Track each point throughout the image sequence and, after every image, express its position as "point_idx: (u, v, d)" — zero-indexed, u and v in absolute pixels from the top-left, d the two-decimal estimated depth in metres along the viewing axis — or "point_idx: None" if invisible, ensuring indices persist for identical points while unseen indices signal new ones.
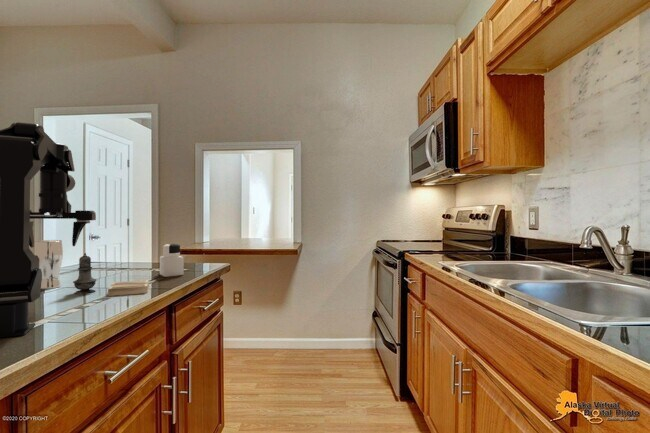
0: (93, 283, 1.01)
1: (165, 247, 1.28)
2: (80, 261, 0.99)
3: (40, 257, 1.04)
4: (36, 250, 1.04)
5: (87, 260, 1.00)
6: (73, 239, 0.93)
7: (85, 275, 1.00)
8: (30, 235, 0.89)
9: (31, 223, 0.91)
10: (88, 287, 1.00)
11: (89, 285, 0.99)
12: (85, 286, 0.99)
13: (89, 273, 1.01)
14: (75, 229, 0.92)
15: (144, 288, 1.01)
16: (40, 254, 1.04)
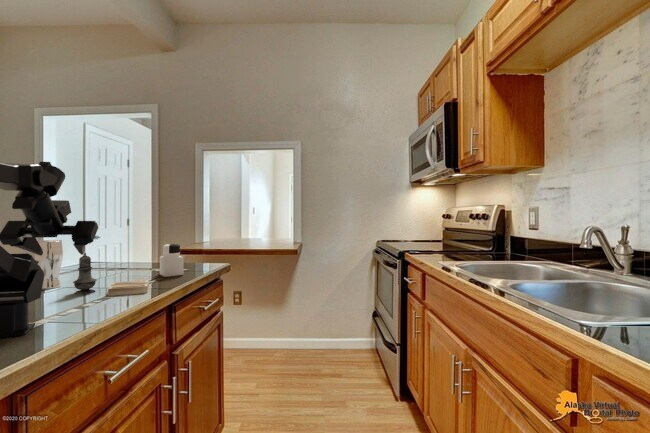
0: (93, 283, 1.01)
1: (165, 247, 1.28)
2: (80, 261, 0.99)
3: (40, 257, 1.04)
4: None
5: (87, 260, 1.00)
6: (79, 252, 0.87)
7: (86, 275, 1.00)
8: (34, 248, 0.83)
9: None
10: (88, 287, 1.00)
11: (89, 285, 0.99)
12: (85, 286, 0.99)
13: (89, 273, 1.01)
14: (77, 247, 0.84)
15: (144, 288, 1.01)
16: None
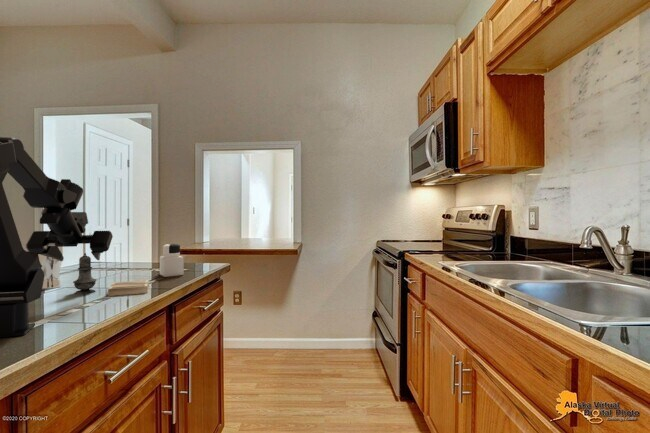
0: (93, 283, 1.01)
1: (165, 247, 1.28)
2: (80, 261, 0.99)
3: (40, 257, 1.04)
4: None
5: (87, 260, 1.00)
6: (96, 258, 0.97)
7: (85, 275, 1.00)
8: (56, 255, 0.94)
9: None
10: (88, 287, 1.00)
11: (89, 285, 0.99)
12: (85, 286, 0.99)
13: (89, 273, 1.01)
14: (94, 254, 0.94)
15: (144, 288, 1.01)
16: (40, 254, 1.04)
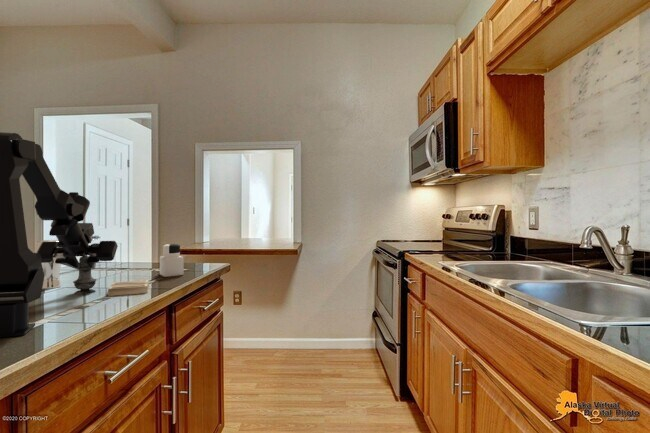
0: (93, 283, 1.01)
1: (165, 247, 1.28)
2: (80, 261, 0.99)
3: None
4: (36, 250, 1.04)
5: None
6: (92, 267, 1.00)
7: (86, 275, 1.00)
8: (74, 264, 0.99)
9: None
10: (88, 287, 1.00)
11: (89, 284, 0.99)
12: (85, 286, 0.99)
13: (89, 273, 1.01)
14: (90, 264, 0.98)
15: (144, 288, 1.01)
16: None
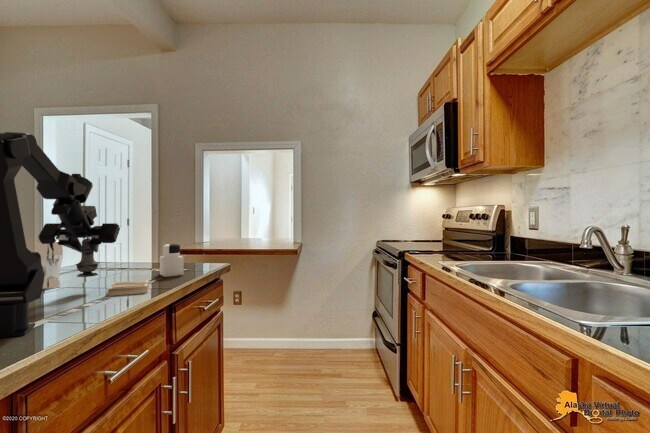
0: (95, 266, 1.01)
1: (165, 247, 1.28)
2: (83, 244, 1.00)
3: None
4: (36, 250, 1.04)
5: None
6: (94, 250, 1.00)
7: (88, 258, 1.00)
8: (77, 247, 0.99)
9: None
10: (90, 270, 1.00)
11: (91, 267, 0.99)
12: (87, 268, 0.99)
13: (92, 256, 1.01)
14: (92, 246, 0.98)
15: (144, 288, 1.01)
16: (40, 254, 1.04)
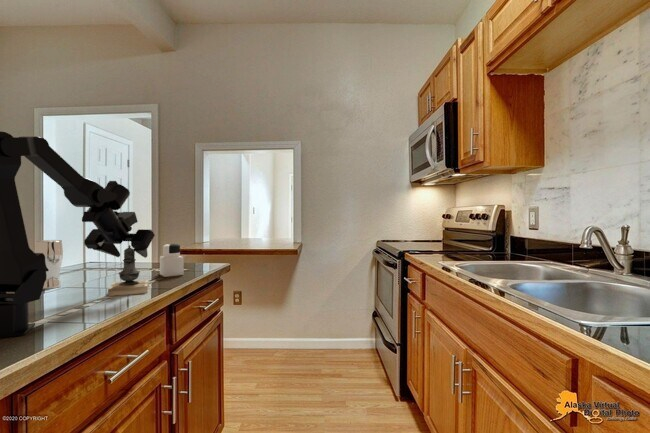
0: (135, 275, 1.02)
1: (165, 247, 1.28)
2: (124, 253, 1.02)
3: None
4: (36, 250, 1.04)
5: (130, 252, 1.02)
6: (142, 255, 1.02)
7: (128, 267, 1.02)
8: (112, 251, 1.02)
9: None
10: (130, 279, 1.01)
11: (131, 276, 1.01)
12: (127, 278, 1.01)
13: (132, 265, 1.02)
14: (138, 252, 0.99)
15: (144, 288, 1.01)
16: None
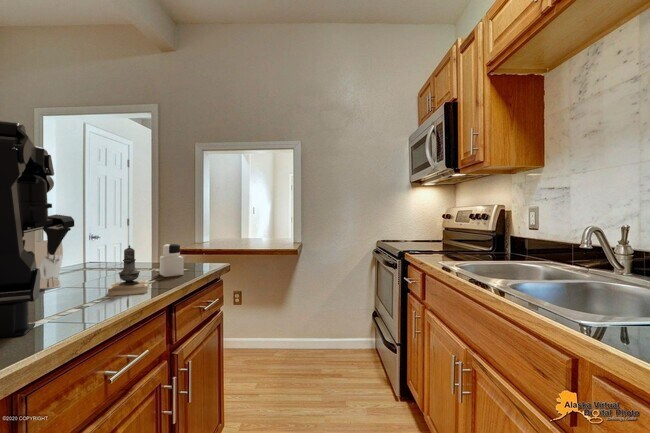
0: (135, 275, 1.02)
1: (165, 247, 1.28)
2: (124, 253, 1.02)
3: (40, 257, 1.04)
4: (36, 250, 1.04)
5: (130, 252, 1.02)
6: (56, 248, 0.90)
7: (128, 267, 1.02)
8: None
9: None
10: (130, 279, 1.01)
11: (130, 276, 1.01)
12: (127, 278, 1.01)
13: (132, 265, 1.02)
14: (60, 237, 0.89)
15: (144, 288, 1.01)
16: (40, 254, 1.04)
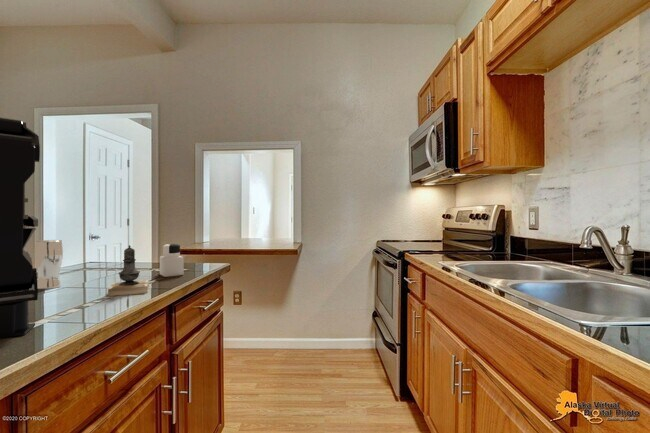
0: (135, 275, 1.02)
1: (165, 247, 1.28)
2: (124, 253, 1.02)
3: (40, 257, 1.04)
4: (36, 250, 1.04)
5: (130, 252, 1.02)
6: (23, 248, 0.85)
7: (128, 267, 1.02)
8: None
9: None
10: (130, 279, 1.01)
11: (130, 276, 1.01)
12: (127, 278, 1.01)
13: (132, 265, 1.02)
14: (28, 236, 0.86)
15: (144, 288, 1.01)
16: (40, 254, 1.04)
